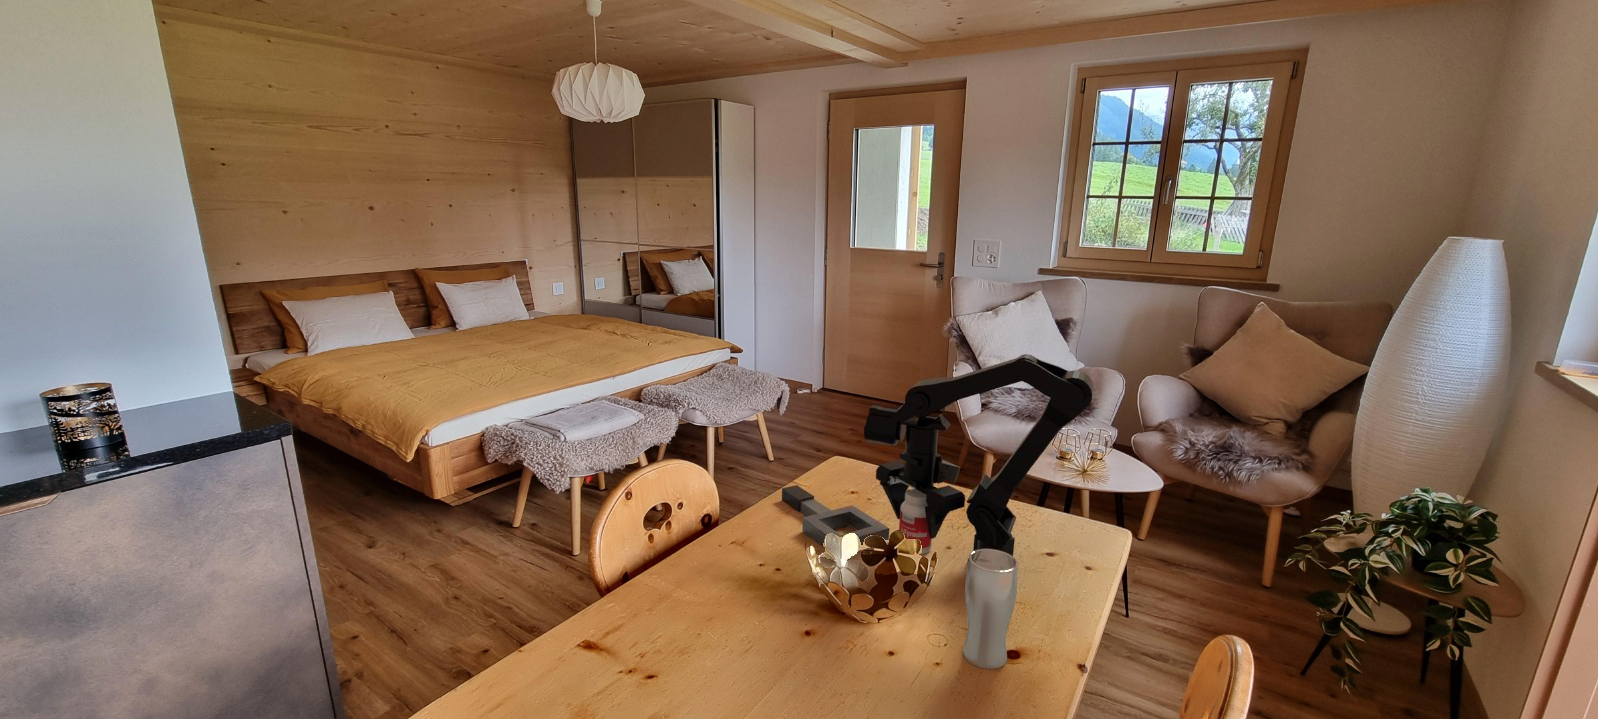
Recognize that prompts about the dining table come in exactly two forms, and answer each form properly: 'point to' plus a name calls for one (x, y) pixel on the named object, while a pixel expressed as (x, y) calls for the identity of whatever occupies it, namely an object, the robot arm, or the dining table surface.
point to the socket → (830, 517)
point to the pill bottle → (915, 518)
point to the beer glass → (989, 606)
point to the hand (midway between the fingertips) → (915, 528)
